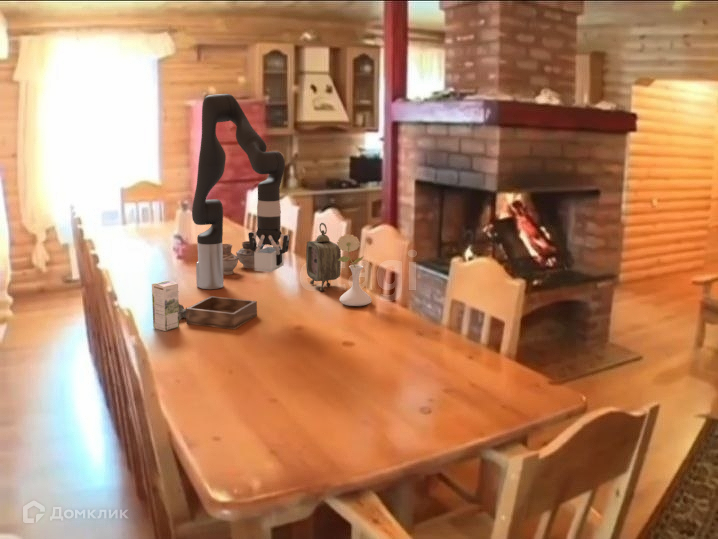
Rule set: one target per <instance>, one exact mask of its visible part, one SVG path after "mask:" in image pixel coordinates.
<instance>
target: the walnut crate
mask: <svg viewBox="0 0 718 539" xmlns="http://www.w3.org/2000/svg"><path fill="white" fill-rule="evenodd" d="M257 302H258V301H256V300H251V299H249V300H248V299H239V298H231V297H221V296H214V295H210V296H208V297H207V298H204V299H202V300H200V301H199V302H196V303H194V304H192V305H191V306H188V307H187V308H186V307H185V309H186V318H185V320H186V324H188V325H195V326H204V327H209V328H210V327H213V328H219V329H228V330H237V329H238V328H239V327H241V326H243V325H244V324H247V322H249V321H250V320H253V319H255V317H257V315H258V310H257V309H258V304H257Z"/></svg>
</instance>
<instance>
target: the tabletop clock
mask: <svg viewBox="0 0 718 539" xmlns="http://www.w3.org/2000/svg"><path fill="white" fill-rule="evenodd" d="M322 226H323V227H324V229H325V230H324V229H323V230H322ZM327 228H328V227H327V225H326V223H324V222H321V223H320V224H319V232H320V235H318V236H317V237H316V240H311V241H310V240H309V241H307V242H306V250H305V251H306V253H305V254H306V255H305V260H306V261H305V262H306V264H305V265H306V274H307V276H308V277H309V278H310V279H311V280H310V281H309V282H310V284H311V285H314V284H315V282H321V286H320V287H319V291H321V292H323V291H324V290H325V288H324V285H326V287H328V288H330V287H331V283H330V282H329V281H335V280H337V279H339V278H340V276H341V269H342V268H341V267H342V266H341V265H342V261H338V259H339V258H340V257H342V254H341V252H342V250H341V249H339V247H338V244H337V243H334V242H333V241H331V240H330V238H329V236H328V235H327V232H328V229H327ZM325 282H326V284H325Z"/></svg>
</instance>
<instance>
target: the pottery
mask: <svg viewBox="0 0 718 539" xmlns="http://www.w3.org/2000/svg"><path fill="white" fill-rule="evenodd" d="M222 244H223V276H225V275H226V276H227V275H233V274H234V272H235V271H234V269H235V268H236V267H237V265H238V263H241V264H242V267H243V268H244V269H255V265H254V252H255V251H253V250H251V249H250V242H249V240H246V241H243V242H241V245H242V246H241V247H242V248H240V249H238V250H237V251H236V254H234V253H232V248H233V244H232V243H222ZM256 245H258V243H257V241H256Z"/></svg>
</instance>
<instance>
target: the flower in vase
mask: <svg viewBox="0 0 718 539" xmlns="http://www.w3.org/2000/svg"><path fill="white" fill-rule="evenodd" d="M336 244H337V245H338V247H339V249H340V251H344V252H348V253H347V254H348V256H345V255H341V257H340V258H339V259H338V261H341V263H342V262H343V263H347V262H348V261H349V260H350V262H351V263H352V264H350V265H349V266H348V267H349V269H350V271H351V274H352V283H351V284H352V285H351V287H350V288H349V289H347V291H345V292H344V293H343V294H342V295H341V296H339V302H340V303H341V304H343V305H345V306H350V307H362V306H366V305H369V304H371V302H372V300H373V299H372V297H371V295H369V294H368V293H367V292H366V291H365V290H363V289H362V287H361V286H360V276H361V275H360V274H361V271H362V270H363V268H364V266H363V265H361V264H356V263H360V262H361V261H362V260H363V258H364V256H360V257H358V258H355V260H352V258H351V257H350V252H354V251H357V250H358V248H360V246H361V242H360V240H359V238H358V236H355V235H354V234H343V235H341V236H340V237H339V238H338V240H337V242H336Z"/></svg>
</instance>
